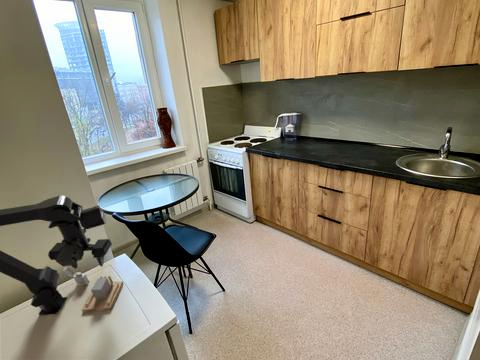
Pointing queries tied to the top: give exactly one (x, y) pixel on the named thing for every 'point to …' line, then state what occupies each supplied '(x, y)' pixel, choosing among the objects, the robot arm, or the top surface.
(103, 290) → the plug block
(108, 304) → the wooden slotted rack
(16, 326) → the top surface
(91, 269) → the top surface
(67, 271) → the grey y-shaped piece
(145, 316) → the top surface
